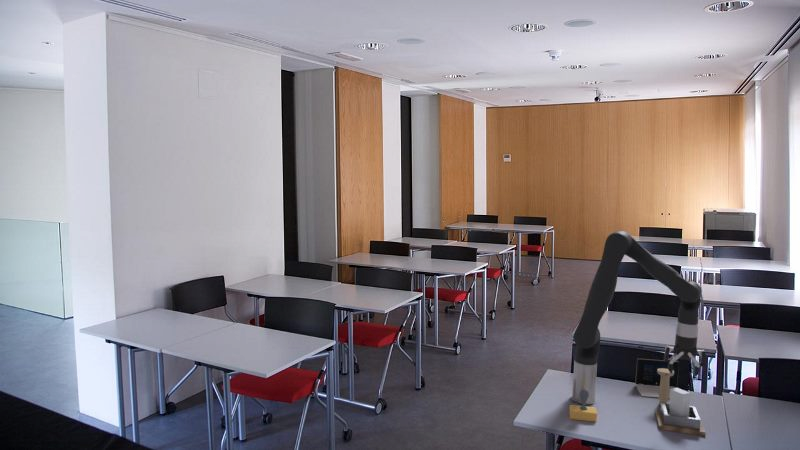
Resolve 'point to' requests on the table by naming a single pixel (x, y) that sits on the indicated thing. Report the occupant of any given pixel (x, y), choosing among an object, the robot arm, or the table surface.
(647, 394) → the laptop
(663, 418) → the socket board
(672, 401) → the skincare box
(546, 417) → the table surface
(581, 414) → the rubber stamp
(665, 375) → the handle
